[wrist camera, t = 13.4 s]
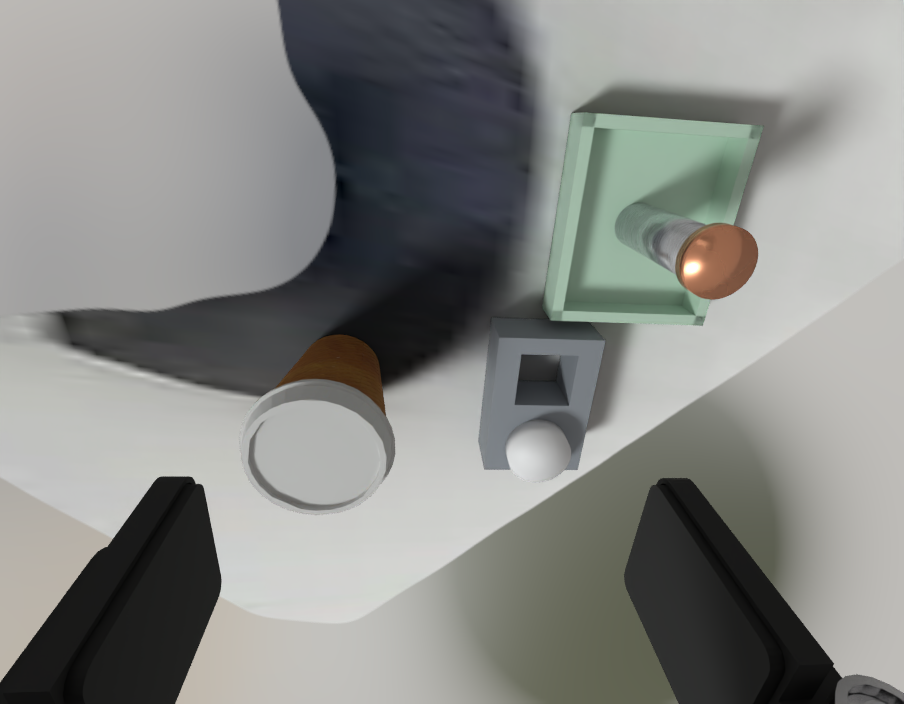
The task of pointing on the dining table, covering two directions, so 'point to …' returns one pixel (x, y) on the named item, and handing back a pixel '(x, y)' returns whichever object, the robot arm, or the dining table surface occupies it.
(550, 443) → the block
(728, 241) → the pin
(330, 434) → the disposable coffee cup
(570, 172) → the tray
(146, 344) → the dining table surface
